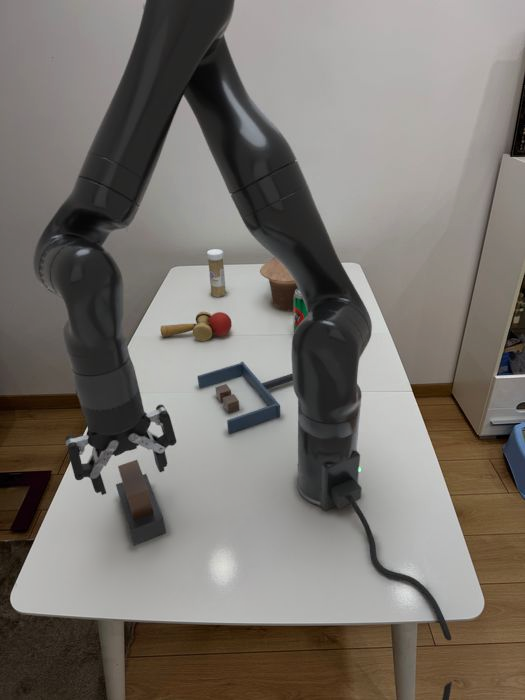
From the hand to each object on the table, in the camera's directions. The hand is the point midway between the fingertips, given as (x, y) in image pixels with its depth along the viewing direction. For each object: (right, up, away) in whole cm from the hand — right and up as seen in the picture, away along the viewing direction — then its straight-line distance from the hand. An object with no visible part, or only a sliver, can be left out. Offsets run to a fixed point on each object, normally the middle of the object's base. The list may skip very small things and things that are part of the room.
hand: (132, 479), depth 71 cm
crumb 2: (+13, +7, +28) cm, 32 cm away
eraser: (0, -7, +6) cm, 10 cm away
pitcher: (+27, +32, +68) cm, 80 cm away
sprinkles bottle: (+6, +35, +75) cm, 83 cm away
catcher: (+17, +9, +32) cm, 37 cm away
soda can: (+30, +23, +53) cm, 65 cm away
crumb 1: (+11, +9, +31) cm, 34 cm away
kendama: (+2, +23, +54) cm, 59 cm away
